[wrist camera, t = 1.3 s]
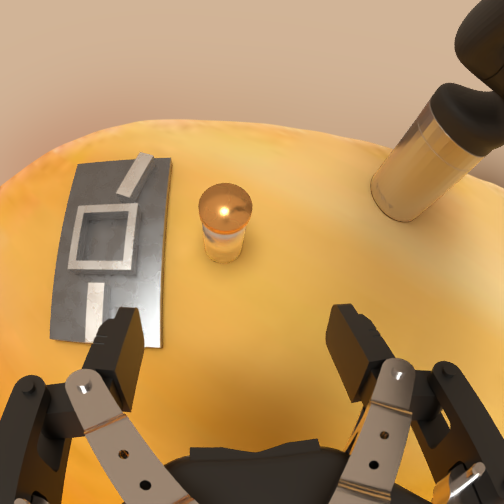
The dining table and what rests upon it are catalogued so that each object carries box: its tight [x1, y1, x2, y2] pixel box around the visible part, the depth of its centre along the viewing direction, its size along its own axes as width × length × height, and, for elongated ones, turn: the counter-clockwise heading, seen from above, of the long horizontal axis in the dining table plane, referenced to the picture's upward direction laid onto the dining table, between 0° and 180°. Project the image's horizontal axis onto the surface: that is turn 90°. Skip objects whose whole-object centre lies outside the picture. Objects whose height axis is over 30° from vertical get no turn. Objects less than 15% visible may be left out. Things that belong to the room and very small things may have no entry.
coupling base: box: [50, 152, 172, 348], centre depth 33 cm, size 24×14×4 cm, turn 2°
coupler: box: [199, 183, 252, 264], centre depth 32 cm, size 5×5×10 cm
